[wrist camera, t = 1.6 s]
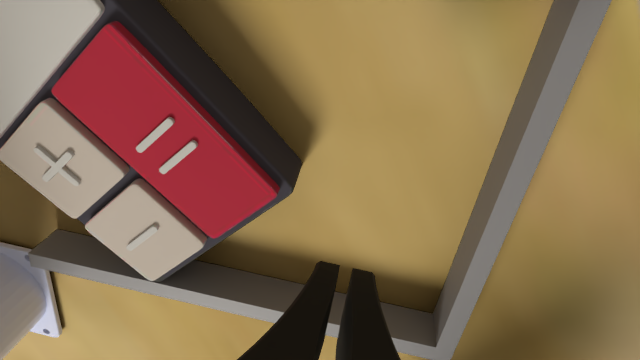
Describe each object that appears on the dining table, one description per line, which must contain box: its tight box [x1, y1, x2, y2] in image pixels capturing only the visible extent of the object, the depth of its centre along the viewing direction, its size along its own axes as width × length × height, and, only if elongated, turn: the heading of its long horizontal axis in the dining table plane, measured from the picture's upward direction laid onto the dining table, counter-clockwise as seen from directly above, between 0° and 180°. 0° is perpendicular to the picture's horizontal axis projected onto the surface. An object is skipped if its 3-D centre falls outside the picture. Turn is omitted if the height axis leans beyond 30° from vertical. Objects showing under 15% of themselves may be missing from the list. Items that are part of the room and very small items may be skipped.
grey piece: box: [28, 0, 611, 360], centre depth 21 cm, size 25×20×2 cm
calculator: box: [0, 0, 302, 282], centre depth 21 cm, size 11×4×15 cm
